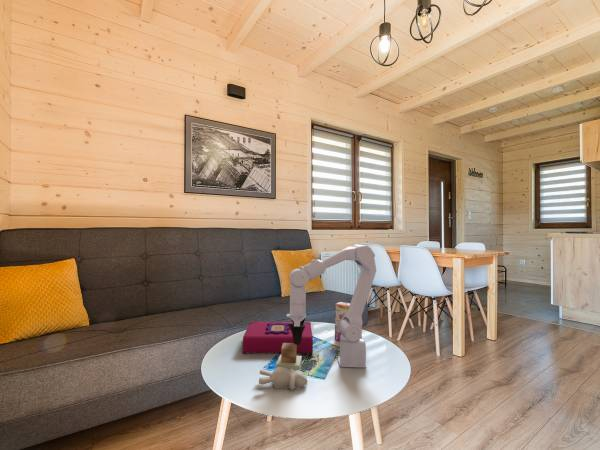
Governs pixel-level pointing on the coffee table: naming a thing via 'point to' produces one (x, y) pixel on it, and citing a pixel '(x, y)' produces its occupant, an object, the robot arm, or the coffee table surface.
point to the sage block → (290, 364)
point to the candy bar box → (340, 317)
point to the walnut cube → (288, 353)
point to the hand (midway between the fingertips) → (297, 340)
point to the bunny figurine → (284, 378)
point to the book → (274, 337)
